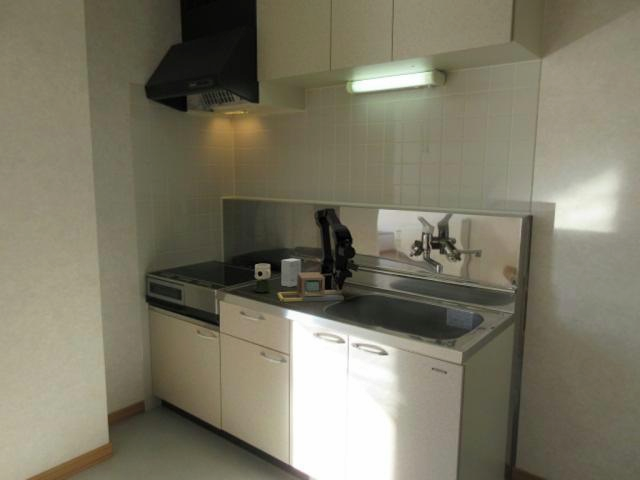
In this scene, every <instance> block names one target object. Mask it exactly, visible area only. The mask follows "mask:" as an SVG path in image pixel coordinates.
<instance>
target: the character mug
mask: <svg viewBox="0 0 640 480" xmlns="http://www.w3.org/2000/svg"><path fill="white" fill-rule="evenodd" d="M271 276H272V275H271V264H270V263H257V264H255V265H254V278H255V279H257V280H256V285H255V292H256V293H257V292H258V293H263V294H264V293H266V292H269V291H270V286H269V285H270V284H269V279H270V278H271Z"/></svg>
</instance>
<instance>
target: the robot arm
mask: <svg viewBox="0 0 640 480" xmlns="http://www.w3.org/2000/svg"><path fill="white" fill-rule="evenodd" d="M313 214H314V215H313V217H314V221H315V224H316V226H317V228H319V234H320V236H319V237H320V245H321V256H322V257H321V259H320V261H319V267H318V269H317V271H316V272H319V273H320V274H321V275H322V276H324V277H325V290H335V287H334V286H333V280H334V283H335V285H336V287H337V284H338V288H339V290H342V291H343V289H342V287H344V284H345V280H346V279H347V278H350V279H351V278H353V271H354V272H358V270H359V268H360V265H359V264H357V263H355V260H353V259H354V257H355V256H356V254H357V252H356V249H355V248H354V246H353V244H354V240H353V237H352V234H351V231H350V230H349V228H348V226H347V225H344V224H342V222H341V220H340V218H339V217H338V215H337V213H336V209H335V208H332V207H330V208H328V207H327V208H326V207H325V208H324V209H319V210H316V211H315V212H314V213H313ZM330 228H331V230H332V231H331V233H330ZM331 235H332V236H331ZM331 237H332V240H333V245H334V255H333V251H332V242H331ZM319 288H320V289H321V290H322V280H320V285H319Z"/></svg>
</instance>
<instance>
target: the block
mask: <svg viewBox="0 0 640 480" xmlns="http://www.w3.org/2000/svg"><path fill="white" fill-rule="evenodd" d="M319 286H320V280H319V281H317V280H306V287H305V290H306V291H319Z"/></svg>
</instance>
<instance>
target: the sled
mask: <svg viewBox="0 0 640 480" xmlns="http://www.w3.org/2000/svg"><path fill="white" fill-rule="evenodd" d="M343 287H344V286H343ZM343 287H342V290H339V288H338V284H337V286H336V289H328V290H324V294H343ZM304 296H322V289H320V288H319V291H306V290H305V293H304Z"/></svg>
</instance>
